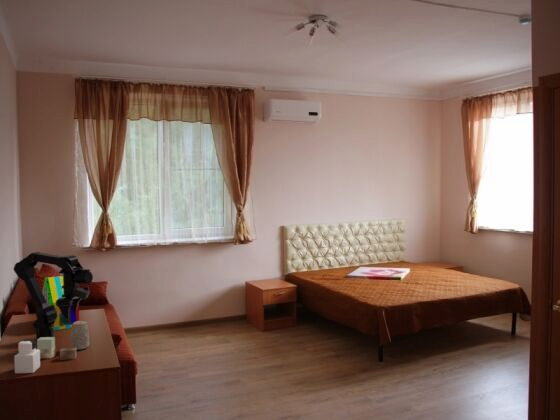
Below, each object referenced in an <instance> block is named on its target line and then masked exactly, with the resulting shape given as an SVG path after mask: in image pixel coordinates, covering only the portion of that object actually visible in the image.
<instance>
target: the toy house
mask: <svg viewBox="0 0 560 420" xmlns="http://www.w3.org/2000/svg"><path fill="white" fill-rule="evenodd" d="M62 286H63V275H62V276H61V275H60V276H50V277H48V276H47V277H45V278H44V283H43V288H42V293H43V295H44V297H45V299H46V302H47V303H48V304H49V305H50V306H51V305H54V307H55V309H56V311H57V319H56V320H55V323H54V324H52V328H53V332H55V331H60V330H66V329H72V324H73V323H74V322H76V321H80V302H79V303H78V306H77V310H76V313H75V314H73V312H72V309H71V307H70V309H69V317H68V319H65V317H64V315H63V313H62V312H61V311H60V309H59V307H57V306H56V301H57V300H58V299H59V298H65V297H62V295H63V288H62ZM60 312H61V313H60Z"/></svg>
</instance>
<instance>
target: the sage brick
mask: <svg viewBox="0 0 560 420" xmlns="http://www.w3.org/2000/svg"><path fill="white" fill-rule="evenodd" d="M36 347H37V348H36V350H37V349H52V348H54V347H55V348H56V337H55V336H54V337H40V338H39V339H38V340H37V341H36Z"/></svg>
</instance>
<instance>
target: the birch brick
mask: <svg viewBox="0 0 560 420" xmlns="http://www.w3.org/2000/svg"><path fill="white" fill-rule="evenodd" d="M36 350H40V359H52V357H53V358H54V357H55V356H56V346H55V347H54V348H52V349H37V348H36Z"/></svg>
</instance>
